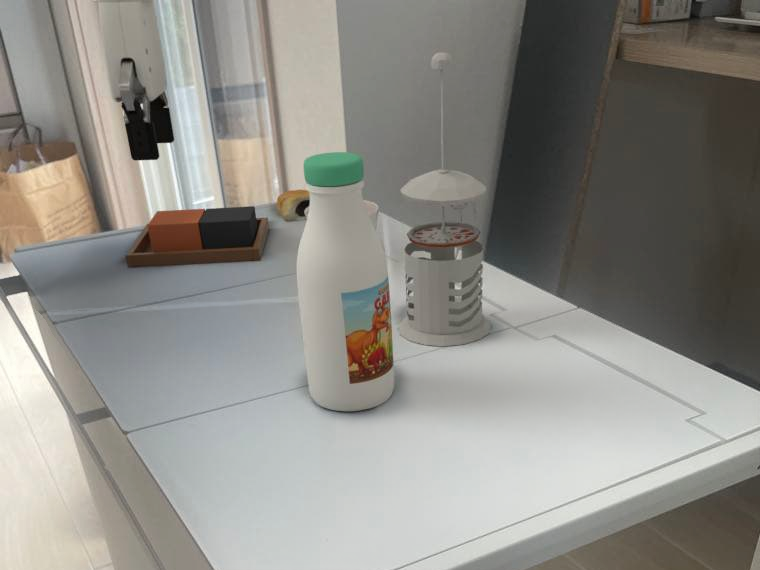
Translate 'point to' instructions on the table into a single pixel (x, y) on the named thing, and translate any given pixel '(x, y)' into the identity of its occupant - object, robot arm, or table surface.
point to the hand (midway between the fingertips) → (154, 150)
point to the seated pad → (228, 227)
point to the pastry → (293, 204)
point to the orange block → (176, 230)
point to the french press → (444, 257)
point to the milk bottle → (343, 290)
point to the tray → (195, 252)
